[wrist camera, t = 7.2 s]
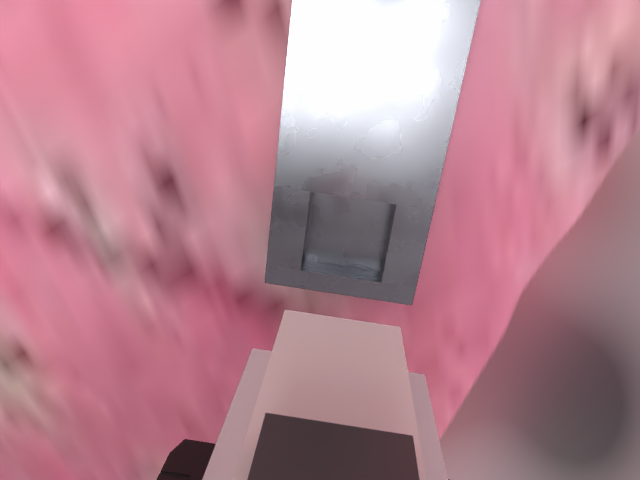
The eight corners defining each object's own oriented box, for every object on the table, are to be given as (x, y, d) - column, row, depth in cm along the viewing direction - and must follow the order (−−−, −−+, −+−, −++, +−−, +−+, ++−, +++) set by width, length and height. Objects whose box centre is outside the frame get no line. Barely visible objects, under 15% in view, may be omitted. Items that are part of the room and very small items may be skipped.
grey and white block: (272, 265, 34) (219, 386, 21) (317, -173, 25) (273, -442, 12) (407, 285, 34) (439, 421, 21) (501, -150, 25) (664, -399, 12)
